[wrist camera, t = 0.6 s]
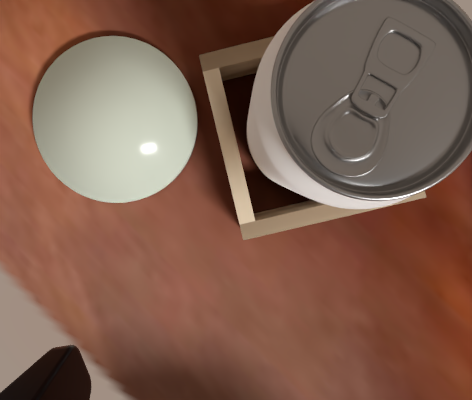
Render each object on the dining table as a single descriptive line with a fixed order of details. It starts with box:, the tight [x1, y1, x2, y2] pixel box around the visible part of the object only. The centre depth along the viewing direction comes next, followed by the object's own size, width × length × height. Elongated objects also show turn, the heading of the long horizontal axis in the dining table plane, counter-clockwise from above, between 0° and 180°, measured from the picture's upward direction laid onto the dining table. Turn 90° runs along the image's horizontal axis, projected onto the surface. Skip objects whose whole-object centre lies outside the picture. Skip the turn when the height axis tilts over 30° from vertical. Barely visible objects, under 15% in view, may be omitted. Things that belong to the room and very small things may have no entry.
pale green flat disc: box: [32, 36, 198, 203], centre depth 22 cm, size 9×9×1 cm
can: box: [247, 0, 472, 209], centre depth 16 cm, size 6×6×12 cm
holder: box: [199, 36, 426, 240], centre depth 20 cm, size 9×9×3 cm
